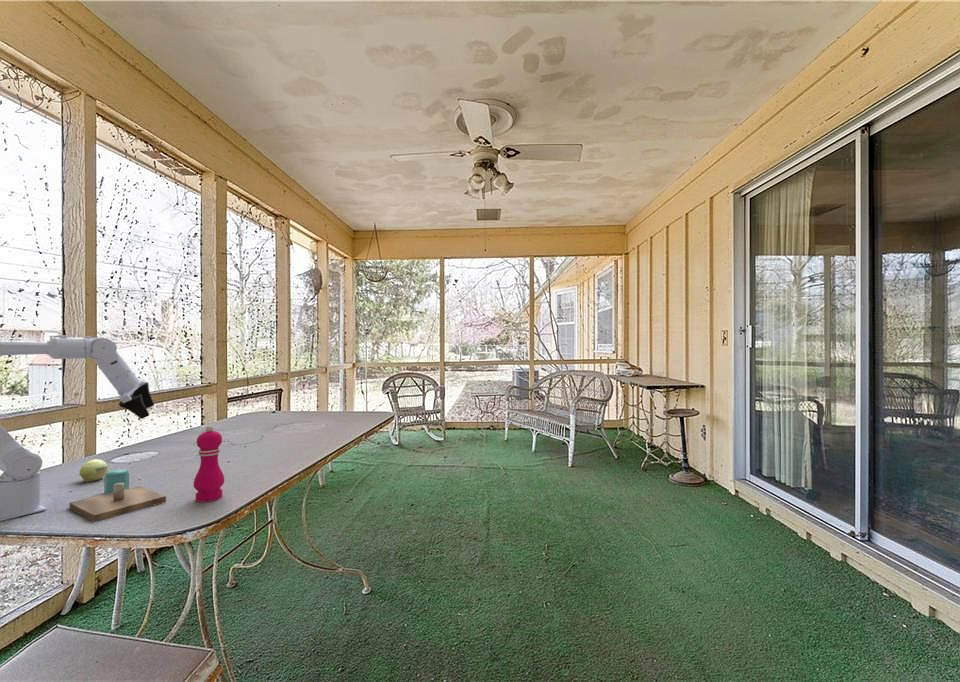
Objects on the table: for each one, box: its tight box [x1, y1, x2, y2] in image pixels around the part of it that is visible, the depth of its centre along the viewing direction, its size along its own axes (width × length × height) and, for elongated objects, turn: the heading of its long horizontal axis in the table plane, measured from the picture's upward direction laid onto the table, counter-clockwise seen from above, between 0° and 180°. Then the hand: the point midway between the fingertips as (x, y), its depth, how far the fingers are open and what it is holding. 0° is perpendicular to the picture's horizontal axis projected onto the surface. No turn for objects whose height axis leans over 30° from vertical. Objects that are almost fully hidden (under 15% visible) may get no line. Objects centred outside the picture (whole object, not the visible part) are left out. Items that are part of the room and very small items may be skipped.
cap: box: [103, 468, 130, 495], centre depth 122 cm, size 5×5×6 cm
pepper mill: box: [193, 425, 225, 503], centre depth 118 cm, size 7×7×20 cm
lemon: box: [79, 458, 109, 483], centre depth 133 cm, size 6×7×7 cm
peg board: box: [69, 483, 167, 522], centre depth 112 cm, size 15×16×6 cm
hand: (147, 411), depth 130 cm, fingers open, 7 cm apart
